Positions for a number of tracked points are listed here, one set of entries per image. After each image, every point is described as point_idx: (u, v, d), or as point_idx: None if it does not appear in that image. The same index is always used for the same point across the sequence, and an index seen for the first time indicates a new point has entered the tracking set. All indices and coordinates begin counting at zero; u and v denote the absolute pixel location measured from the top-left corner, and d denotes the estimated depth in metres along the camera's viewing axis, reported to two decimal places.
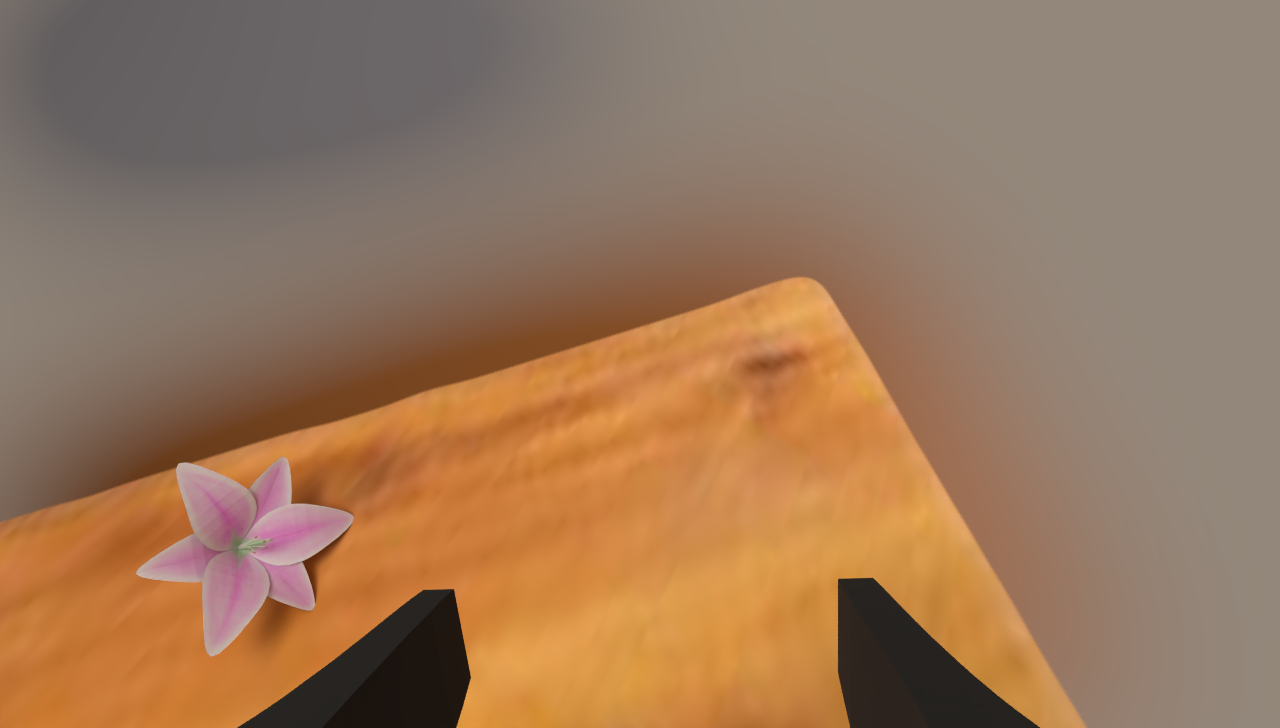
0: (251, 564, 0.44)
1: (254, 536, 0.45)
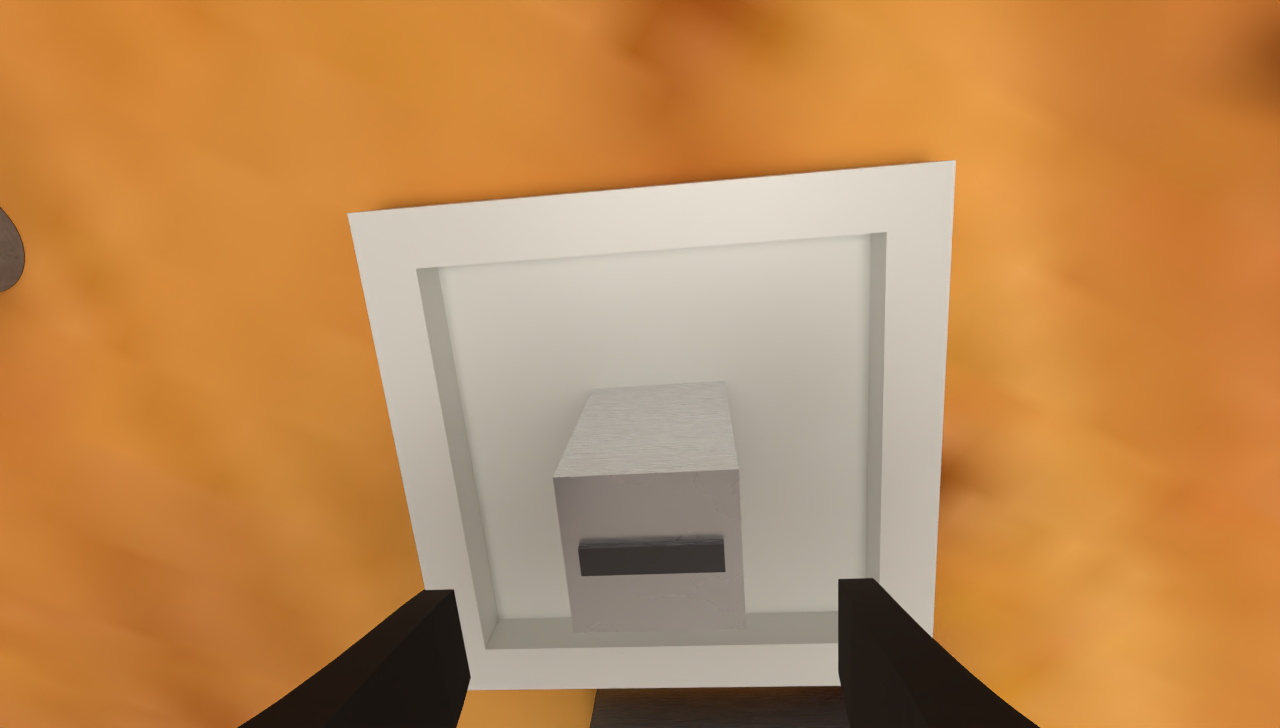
0: None
1: None
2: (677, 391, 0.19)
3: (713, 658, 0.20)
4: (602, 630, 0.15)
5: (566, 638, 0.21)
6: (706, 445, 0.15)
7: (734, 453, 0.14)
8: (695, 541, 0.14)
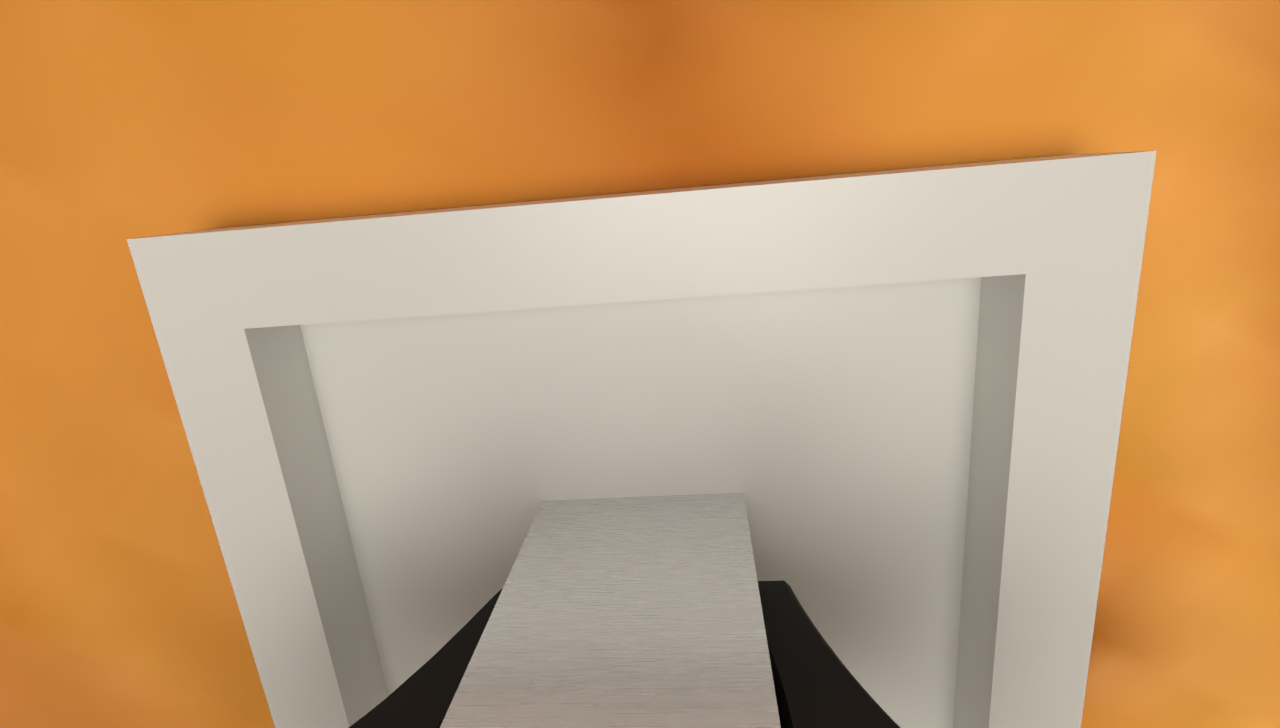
0: None
1: None
2: (671, 513, 0.12)
3: None
4: None
5: None
6: (720, 669, 0.08)
7: (773, 701, 0.08)
8: None
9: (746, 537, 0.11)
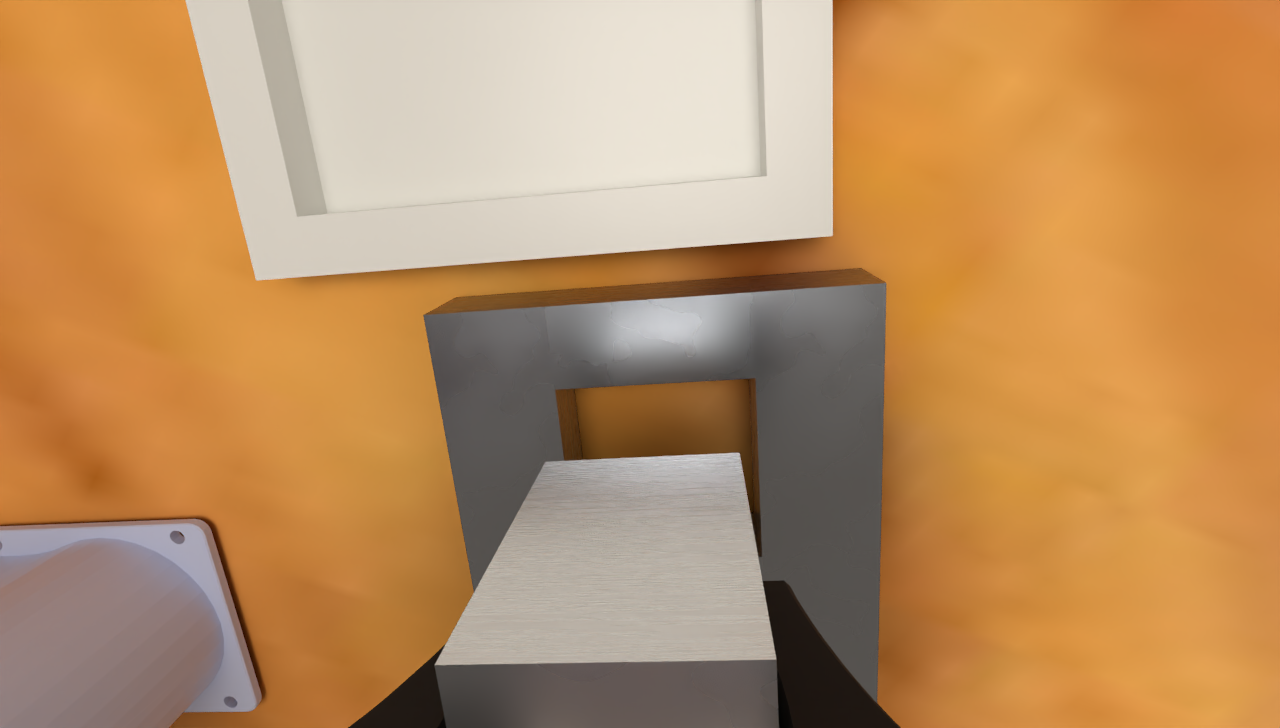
0: None
1: None
2: (669, 469, 0.13)
3: (569, 212, 0.17)
4: None
5: (397, 207, 0.17)
6: (715, 590, 0.09)
7: (765, 614, 0.08)
8: None
9: (741, 487, 0.12)
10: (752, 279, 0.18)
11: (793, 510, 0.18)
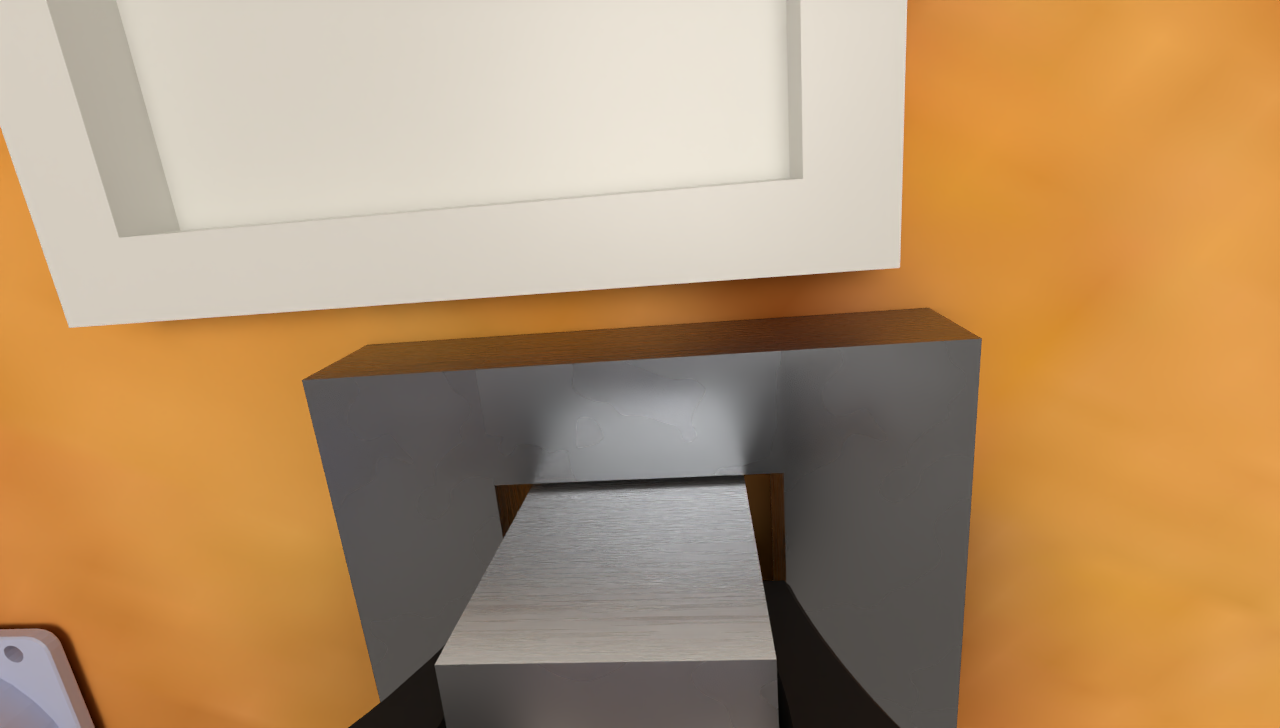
0: None
1: None
2: None
3: (511, 232, 0.11)
4: None
5: (266, 224, 0.12)
6: (715, 590, 0.09)
7: (765, 614, 0.08)
8: None
9: (741, 487, 0.12)
10: (776, 324, 0.13)
11: (835, 652, 0.13)
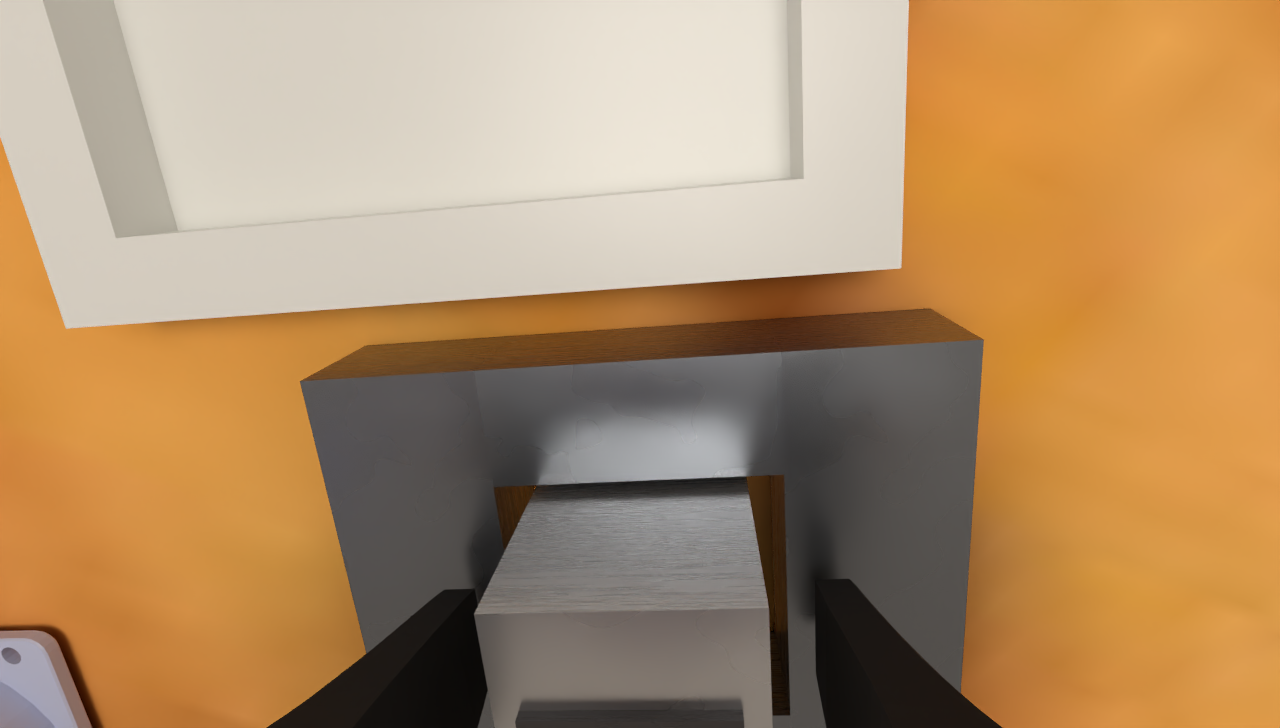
0: None
1: None
2: None
3: (510, 232, 0.11)
4: None
5: (264, 224, 0.12)
6: (716, 552, 0.10)
7: (759, 571, 0.09)
8: (699, 714, 0.09)
9: None
10: (777, 325, 0.13)
11: None
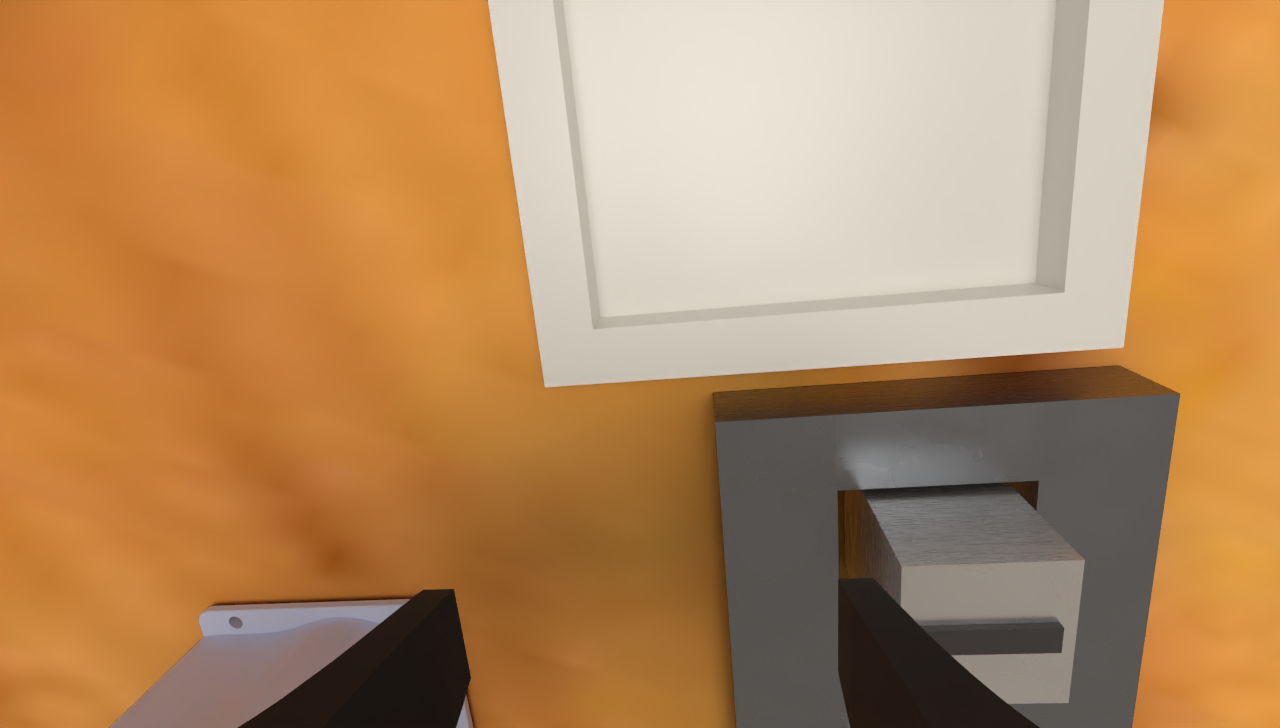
0: None
1: None
2: None
3: (864, 325, 0.17)
4: None
5: (686, 318, 0.18)
6: (1025, 529, 0.16)
7: (1063, 540, 0.15)
8: (1033, 625, 0.15)
9: None
10: (1017, 378, 0.19)
11: None
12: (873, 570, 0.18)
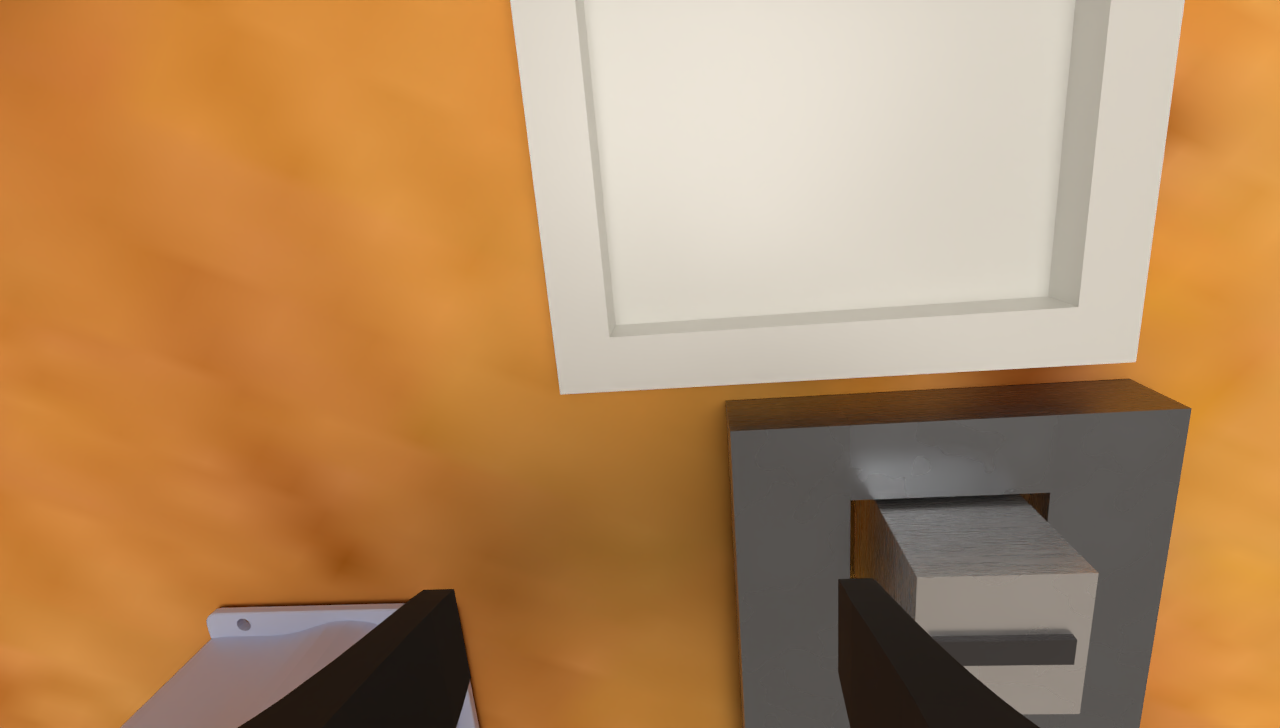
0: None
1: None
2: None
3: (879, 337, 0.18)
4: None
5: (702, 327, 0.18)
6: (1038, 541, 0.16)
7: (1076, 553, 0.16)
8: (1046, 636, 0.15)
9: None
10: (1028, 391, 0.19)
11: None
12: (885, 580, 0.18)
